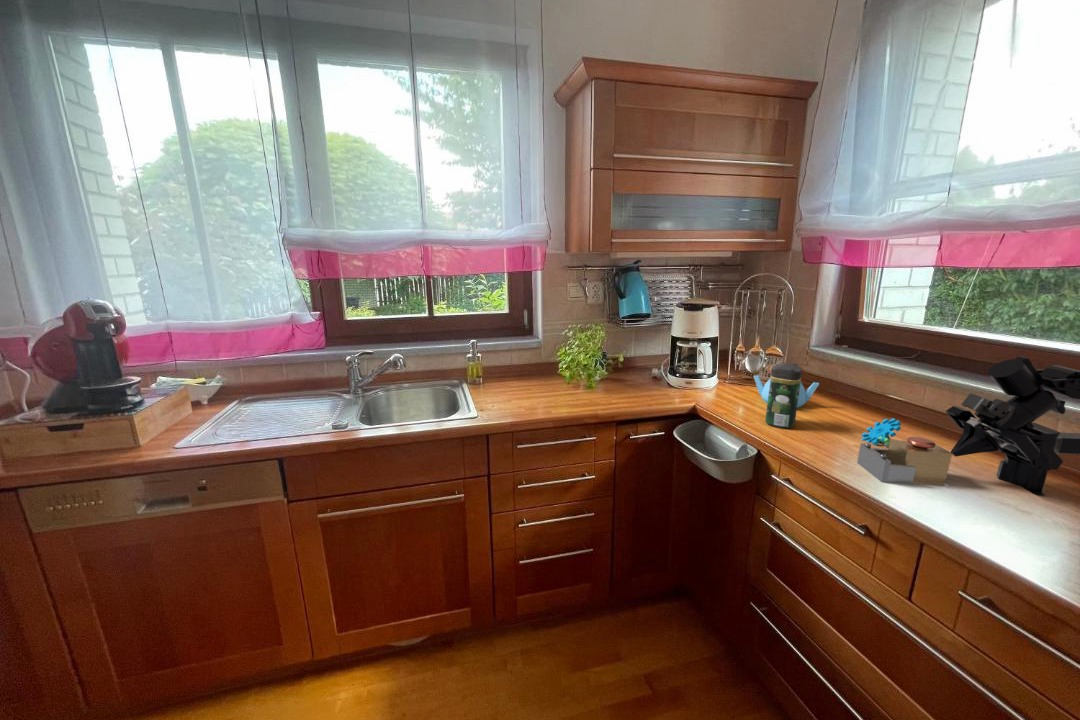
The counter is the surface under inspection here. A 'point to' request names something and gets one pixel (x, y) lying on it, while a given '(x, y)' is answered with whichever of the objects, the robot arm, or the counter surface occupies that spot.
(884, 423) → the gear
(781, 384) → the coffee jar
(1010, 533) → the counter surface
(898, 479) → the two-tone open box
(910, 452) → the tan box
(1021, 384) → the robot arm
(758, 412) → the counter surface
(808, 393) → the teapot
